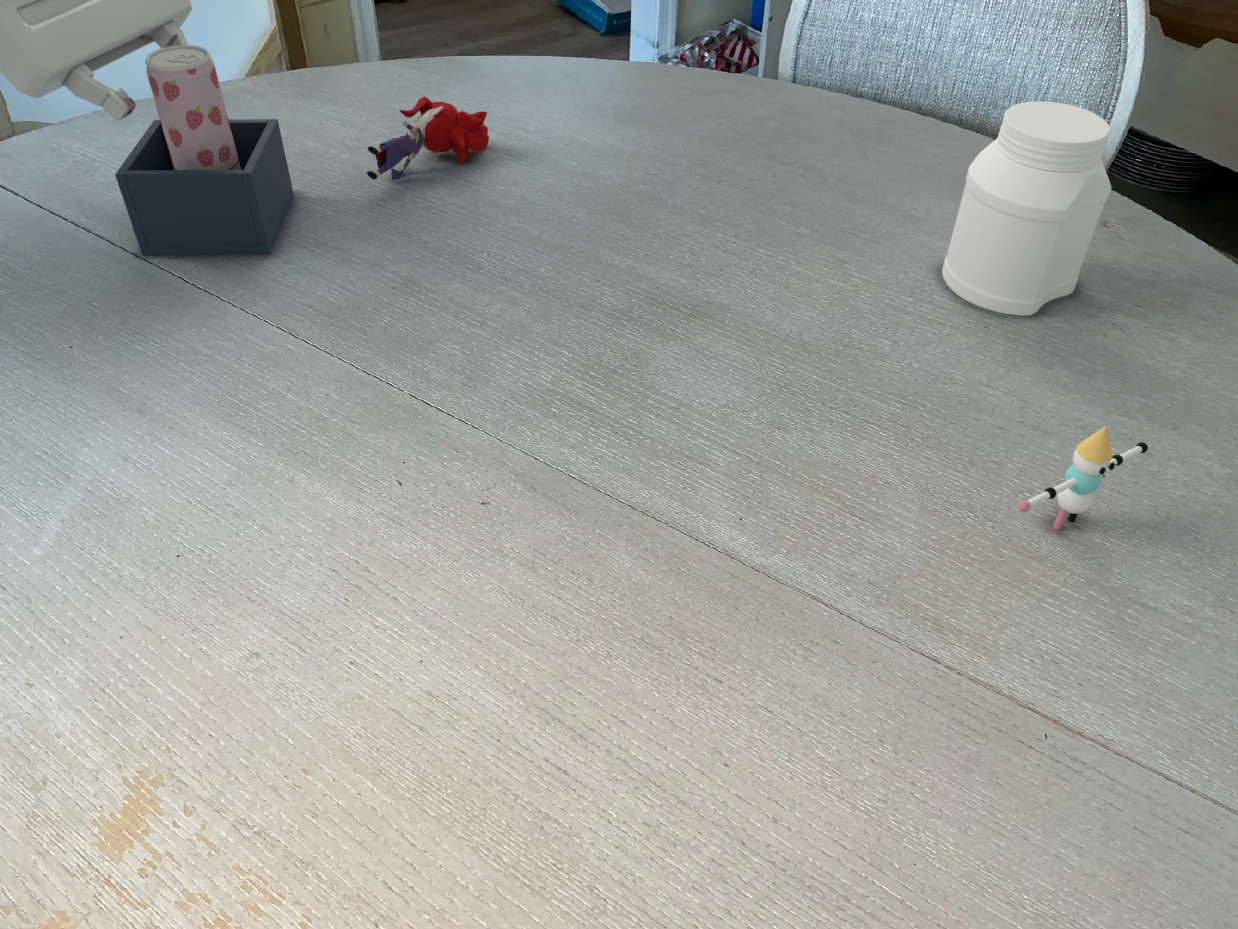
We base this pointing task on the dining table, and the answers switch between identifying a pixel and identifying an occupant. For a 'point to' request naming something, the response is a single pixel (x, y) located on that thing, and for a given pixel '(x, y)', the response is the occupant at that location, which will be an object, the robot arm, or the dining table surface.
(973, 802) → the dining table surface
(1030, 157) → the jar
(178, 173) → the bin
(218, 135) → the beverage can
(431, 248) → the dining table surface
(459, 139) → the figurine
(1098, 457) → the toy figure
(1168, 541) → the dining table surface
